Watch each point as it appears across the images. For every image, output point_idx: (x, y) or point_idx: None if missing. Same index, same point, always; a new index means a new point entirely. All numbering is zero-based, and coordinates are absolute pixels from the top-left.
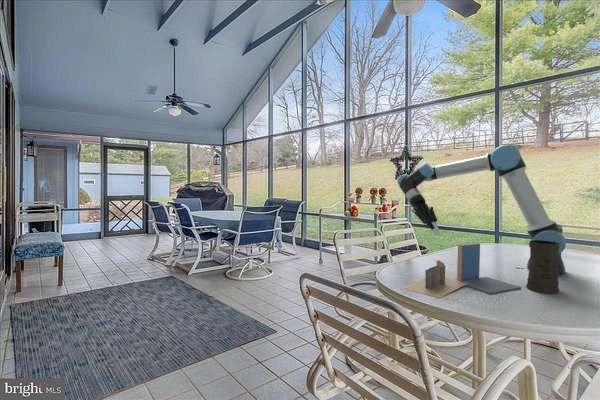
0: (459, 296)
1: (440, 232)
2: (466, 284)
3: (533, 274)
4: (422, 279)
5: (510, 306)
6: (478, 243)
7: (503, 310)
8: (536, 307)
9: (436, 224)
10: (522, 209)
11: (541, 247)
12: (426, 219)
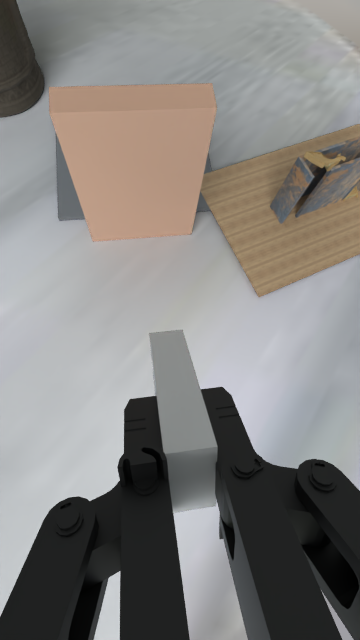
0: (294, 118)
1: (154, 337)
2: (208, 172)
3: (24, 26)
4: (324, 266)
5: (217, 41)
6: (58, 91)
7: (253, 33)
8: (161, 20)
9: (127, 441)
10: None
11: None
12: (331, 499)
